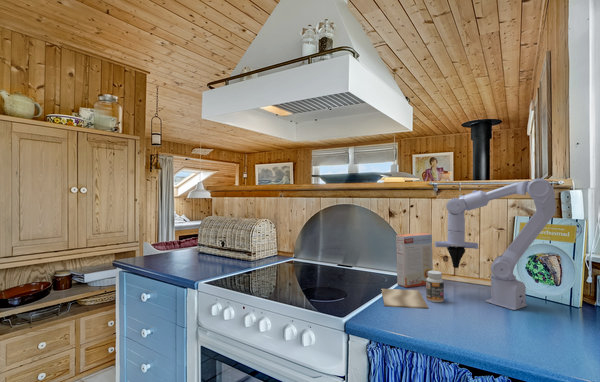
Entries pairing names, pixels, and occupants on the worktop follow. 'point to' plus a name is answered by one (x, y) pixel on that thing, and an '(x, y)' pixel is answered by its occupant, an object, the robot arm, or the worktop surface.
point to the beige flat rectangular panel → (403, 298)
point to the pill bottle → (435, 287)
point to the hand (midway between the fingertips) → (455, 267)
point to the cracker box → (413, 258)
